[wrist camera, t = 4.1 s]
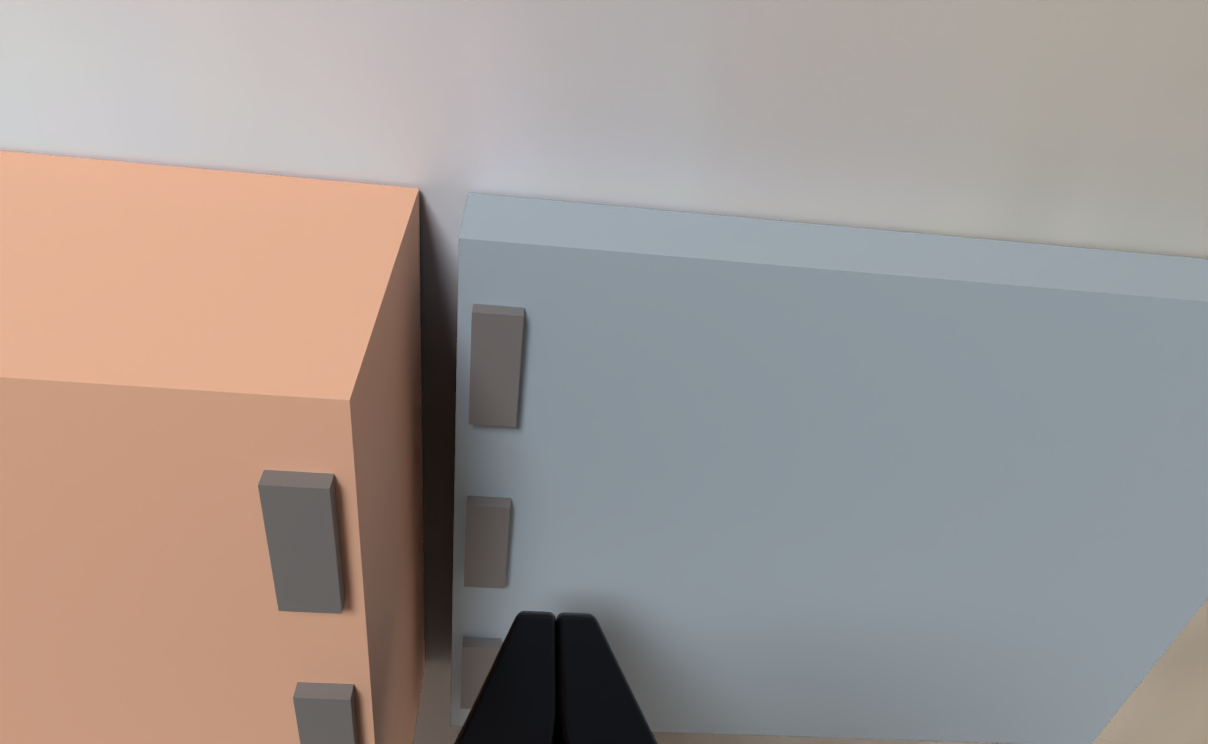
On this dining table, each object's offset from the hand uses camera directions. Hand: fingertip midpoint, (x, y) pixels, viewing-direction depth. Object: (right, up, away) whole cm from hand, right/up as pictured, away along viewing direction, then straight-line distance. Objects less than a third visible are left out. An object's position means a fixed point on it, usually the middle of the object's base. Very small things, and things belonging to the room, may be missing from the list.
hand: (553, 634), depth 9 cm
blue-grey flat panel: (+4, +1, +2) cm, 4 cm away
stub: (-5, +2, +1) cm, 5 cm away
